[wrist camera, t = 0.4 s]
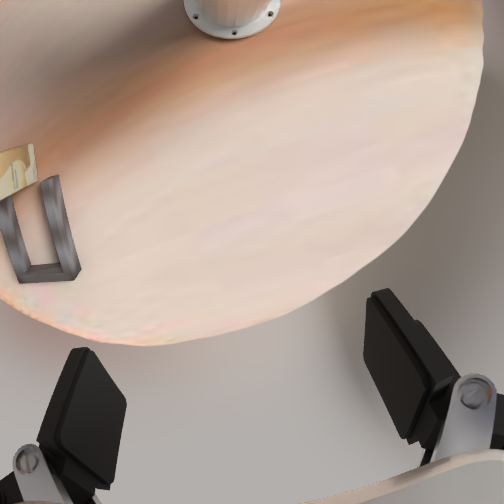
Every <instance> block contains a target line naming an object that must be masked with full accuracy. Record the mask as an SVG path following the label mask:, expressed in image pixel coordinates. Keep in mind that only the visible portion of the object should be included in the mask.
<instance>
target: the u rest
mask: <svg viewBox="0 0 504 504" xmlns="http://www.w3.org/2000/svg"><path fill="white" fill-rule="evenodd" d="M40 186H41V191H42V195H43V200H44V204H45V209H46V213H47V217H48V221H49V225H50V229H51V232H52V236H53V240H54V243H55V247H56V250H57V253H58V257H59V260H60V263H54V264H43V265H31V263H30V260H29V257H28V254H27V251H26V248H25V244H24V241H23V238H22V234H21V231H20V227H19V224H18V220H17V216H16V212H15V208H14V204H13V200H12V196H11V195H10V196H8V197H6V198H4V199H2V200H1V201H0V228H1V232H2V235H3V238H4V241H5V245H6V248H7V251H8V254H9V257H10V260H11V262H12V265H13V268H14V271H15V274H16V276H17V279H18V281H19V284H21V283H39V282H57V281H73V280H75V278H76V277H77V275H78V274H79V272H80V271H81V266H80V263H79V259H78V256H77V252H76V249H75V245H74V242H73V238H72V234H71V230H70V226H69V222H68V218H67V213H66V209H65V205H64V200H63V195H62V190H61V185H60V180H59V175H56V176H51V177H49V178H47V179H45V180H44V181H42V182H40Z"/></svg>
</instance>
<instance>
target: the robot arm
mask: <svg viewBox="0 0 504 504" xmlns="http://www.w3.org/2000/svg"><path fill="white" fill-rule="evenodd" d="M280 5H281V0H184V6H185V10H186V13H187V15H188V17H189V19H190V20H191V22H192V23H193V24H194V25H195V26H196V27H197V28H198V29H200V30H201V31H203V32H205V33H206V34H208V35H211V36H214V37H217V38H223V39H241V38H246V37H249V36H252V35H255V34H257V33H259V32H261V31H262V30H264V29H265V28H266V27H268V26H269V25H270V24H271V23H272V21H273V20H274V19H275V17H276V16H277V14H278V11H279V9H280ZM268 14H270V15H271V17H269V16H268ZM195 17H198V19H194V18H195ZM233 32H235V33H236V35H232V33H233ZM363 357H364V361H365V364H366V366H367V368H368V370H369V372H370V374H371V376H372V378H373V380H374V382H375V385H376V387H377V388H378V391H379V393H380V395H381V397H382V399H383V401H384V403H385V405H386V407H387V409H388V412H389V414H390V416H391V418H392V420H393V423H394V425H395V427H396V429H397V431H398V433H399V435H400V437H401V438H402V439H405V438H406V439H407V442H408V444H409V445H410V444H413V443H415V442H417V441H419V443H420V445H421V447H422V448H424V450H423V453H422V456H421V458H420V461H419V464H418V467H417V468H416V469H413V470H410V471H408V472H405V473H402V474H400V475H398V476H395V477H392V478H389V479H386V480H383V481H381V482H378V483H375V484H372V485H368V486H365V487H362V488H359V489H355V490H352V491H349V492H345V493H342V494H339V495H335V496H331V497H327V498H323V499H319V500H314V501H310V502H305V503H301V504H504V395H502V394H498V393H497V391H496V388H495V386H494V384H493V382H492V381H491V380H490V379H489V378H487V377H486V376H484V375H480V374H475V373H471V374H467V375H464V376H462V377H461V376H460V375H459V373H458V372H457V371H456V369H455V368H454V366H453V365H452V363H451V362H450V361H449V359H448V358H447V357H446V355H445V354H444V352H443V351H442V349H441V348H440V347H439V345H438V344H437V343H436V342H435V340H434V339H433V337H432V336H431V335H430V333H429V332H428V331H427V329H426V328H425V327H424V325H423V324H422V323H421V322H420V321H418V320H414V319H413V318H412V317H411V316H410V314H409V313H408V311H407V310H406V309H405V308H404V306H403V305H402V304H401V302H400V301H399V300H398V299H397V297H396V296H395V295H394V293H393V292H392V291H391V290H390V289H389V288H386V289H382V290H379V291H375V292H372V294H371V297H370V298H367V302H366V322H365V339H364V352H363ZM126 406H127V403H126V399H125V397H124V395H123V394H122V393H121V391H120V390H119V388H118V387H117V386H116V384H115V383H114V381H113V380H112V378H111V377H110V376H109V374H108V373H107V371H106V370H105V368H104V367H103V365H102V364H101V362H100V360H99V359H98V357H97V356H96V354H95V353H94V352H93V351H91V350H90V349H89V348H87V347H82V348H74V349H72V350H71V352H70V354H69V356H68V358H67V361H66V363H65V365H64V368H63V370H62V373H61V375H60V377H59V380H58V382H57V385H56V387H55V390H54V392H53V395H52V398H51V400H50V403H49V405H48V408H47V411H46V414H45V416H44V419H43V422H42V425H41V428H40V431H39V434H38V437H37V440H36V441H37V442H39V443H40V444H39V447H37V446H36V445H34V444H26V445H24V446H22V447H21V448H19V449H18V451H17V452H16V453H15V456H14V458H13V470H14V471H13V472H11V473H10V474H9V475H7V476H6V477H4V478H3V479H2V480H0V504H101V502H100V501H99V499H98V497H97V496H96V494H95V488H97V489H103V490H110V484H111V483H113V481H114V477H115V470H116V464H117V457H118V451H119V445H120V439H121V433H122V428H123V422H124V417H125V411H126Z"/></svg>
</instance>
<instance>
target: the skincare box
mask: <svg viewBox="0 0 504 504" xmlns="http://www.w3.org/2000/svg"><path fill="white" fill-rule="evenodd" d="M37 181H38V178H37V170H36V162H35V155H34V147H33V143H31V144H26V145H22V146H18V147H15V148H12V149H8V150H5V151H2V152H0V201H1V200H2V199H4V198H6V197H8V196H10V195H12V194H13V193H15V192H17V191H19V190H21V189H23V188H25V187H27V186H29V185H31V184H33V183H34V182H37Z"/></svg>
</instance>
